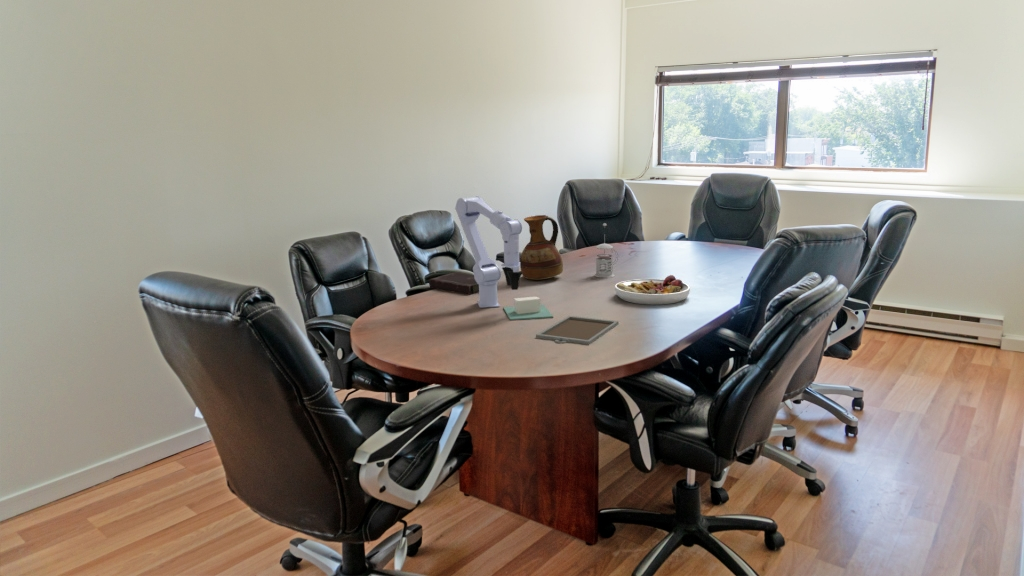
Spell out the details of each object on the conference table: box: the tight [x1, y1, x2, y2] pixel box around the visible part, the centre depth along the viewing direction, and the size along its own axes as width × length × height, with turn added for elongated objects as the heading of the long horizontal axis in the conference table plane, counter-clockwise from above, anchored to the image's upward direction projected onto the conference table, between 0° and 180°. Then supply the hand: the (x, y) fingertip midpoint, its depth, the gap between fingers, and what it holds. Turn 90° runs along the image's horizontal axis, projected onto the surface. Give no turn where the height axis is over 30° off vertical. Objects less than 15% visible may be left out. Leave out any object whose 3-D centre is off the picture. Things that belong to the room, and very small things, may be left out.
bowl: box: [614, 274, 691, 306], centre depth 280 cm, size 30×30×8 cm
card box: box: [513, 295, 541, 314], centre depth 260 cm, size 9×4×5 cm, turn 108°
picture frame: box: [535, 315, 619, 346], centre depth 234 cm, size 19×2×30 cm
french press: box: [593, 222, 619, 279], centre depth 325 cm, size 10×12×25 cm
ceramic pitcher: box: [519, 214, 564, 281], centre depth 321 cm, size 20×20×30 cm
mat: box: [503, 304, 554, 321], centre depth 260 cm, size 18×16×1 cm
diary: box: [428, 271, 479, 296], centre depth 307 cm, size 19×25×5 cm
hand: (512, 287), depth 262 cm, fingers open, 7 cm apart
